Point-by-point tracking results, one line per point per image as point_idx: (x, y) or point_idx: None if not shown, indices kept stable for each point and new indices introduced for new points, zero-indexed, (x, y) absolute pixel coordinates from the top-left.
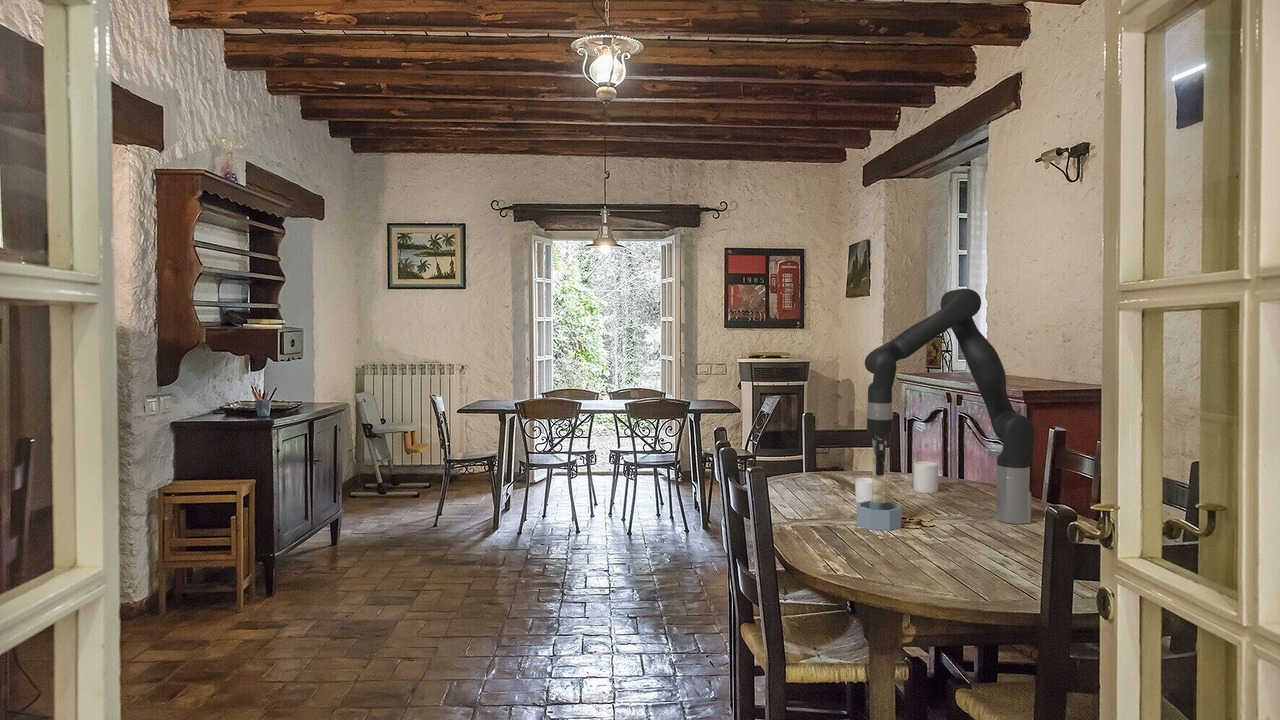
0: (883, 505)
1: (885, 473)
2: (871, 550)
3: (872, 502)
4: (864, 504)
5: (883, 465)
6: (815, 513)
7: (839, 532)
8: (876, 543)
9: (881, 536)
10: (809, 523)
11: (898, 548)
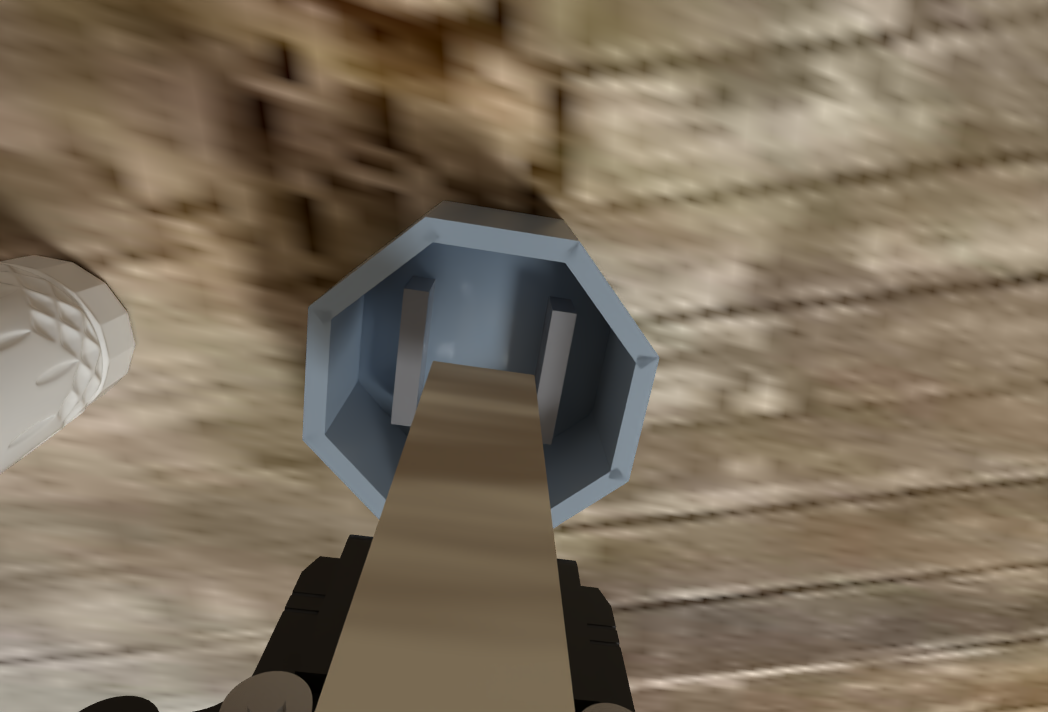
0: (340, 320)
1: (553, 536)
2: (1004, 498)
3: (327, 409)
4: (369, 468)
5: (594, 665)
6: (230, 635)
7: (651, 581)
8: (886, 448)
9: (750, 390)
10: None
11: (1003, 358)
